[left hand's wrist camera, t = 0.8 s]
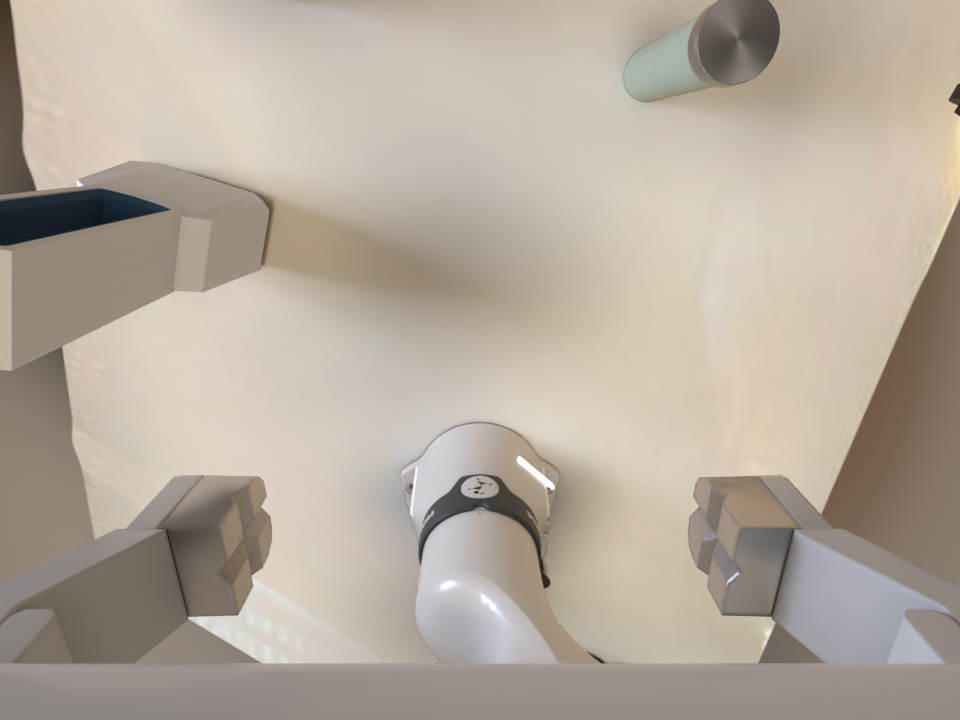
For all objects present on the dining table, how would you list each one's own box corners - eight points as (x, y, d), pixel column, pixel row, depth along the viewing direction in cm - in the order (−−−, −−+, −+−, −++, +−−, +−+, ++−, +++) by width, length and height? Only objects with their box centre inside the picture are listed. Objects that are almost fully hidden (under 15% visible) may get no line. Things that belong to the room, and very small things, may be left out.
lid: (780, 50, 35) (794, 46, 33) (711, 104, 36) (722, 102, 34) (742, -22, 33) (755, -29, 32) (672, 36, 35) (681, 31, 33)
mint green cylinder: (682, 79, 51) (786, 47, 34) (640, 112, 52) (720, 98, 35) (656, 35, 50) (750, -22, 32) (613, 70, 51) (683, 33, 33)
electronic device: (140, 233, 56) (-200, 324, 28) (147, 157, 53) (-222, 174, 25) (264, 269, 57) (57, 391, 29) (276, 197, 54) (62, 255, 27)
